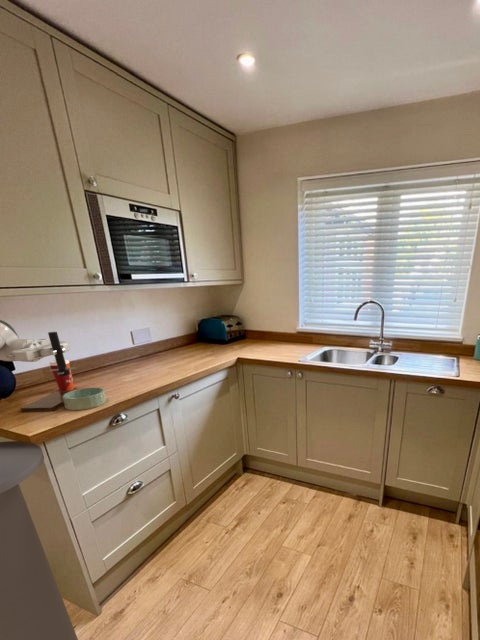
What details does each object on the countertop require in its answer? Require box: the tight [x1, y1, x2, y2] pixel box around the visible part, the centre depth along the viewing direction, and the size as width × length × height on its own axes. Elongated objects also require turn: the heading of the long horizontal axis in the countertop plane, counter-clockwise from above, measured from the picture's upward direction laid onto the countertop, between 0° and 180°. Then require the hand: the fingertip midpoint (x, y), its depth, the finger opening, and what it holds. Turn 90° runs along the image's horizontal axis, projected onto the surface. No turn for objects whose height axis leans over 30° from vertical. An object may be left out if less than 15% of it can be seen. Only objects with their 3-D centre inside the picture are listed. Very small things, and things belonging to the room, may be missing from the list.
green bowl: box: [62, 386, 107, 411], centre depth 136 cm, size 14×14×5 cm
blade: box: [47, 331, 77, 376], centre depth 130 cm, size 9×9×17 cm
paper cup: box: [48, 358, 75, 392], centre depth 152 cm, size 8×8×14 cm
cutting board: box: [20, 391, 70, 413], centre depth 139 cm, size 20×12×2 cm, turn 2°
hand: (59, 351), depth 129 cm, fingers closed on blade, 3 cm apart
